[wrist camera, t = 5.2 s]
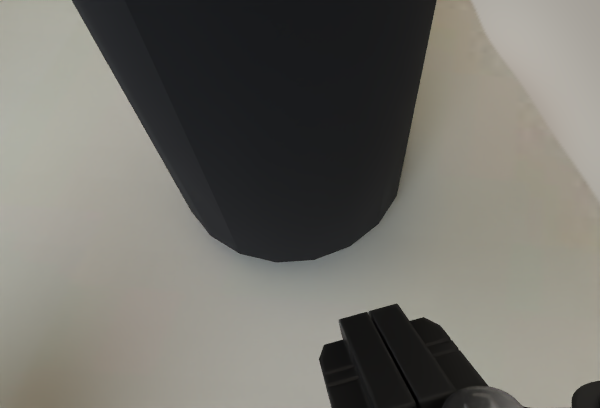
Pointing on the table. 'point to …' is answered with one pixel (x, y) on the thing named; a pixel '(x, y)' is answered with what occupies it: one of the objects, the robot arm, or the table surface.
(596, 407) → the robot arm
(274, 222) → the coffee jar
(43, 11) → the table surface
